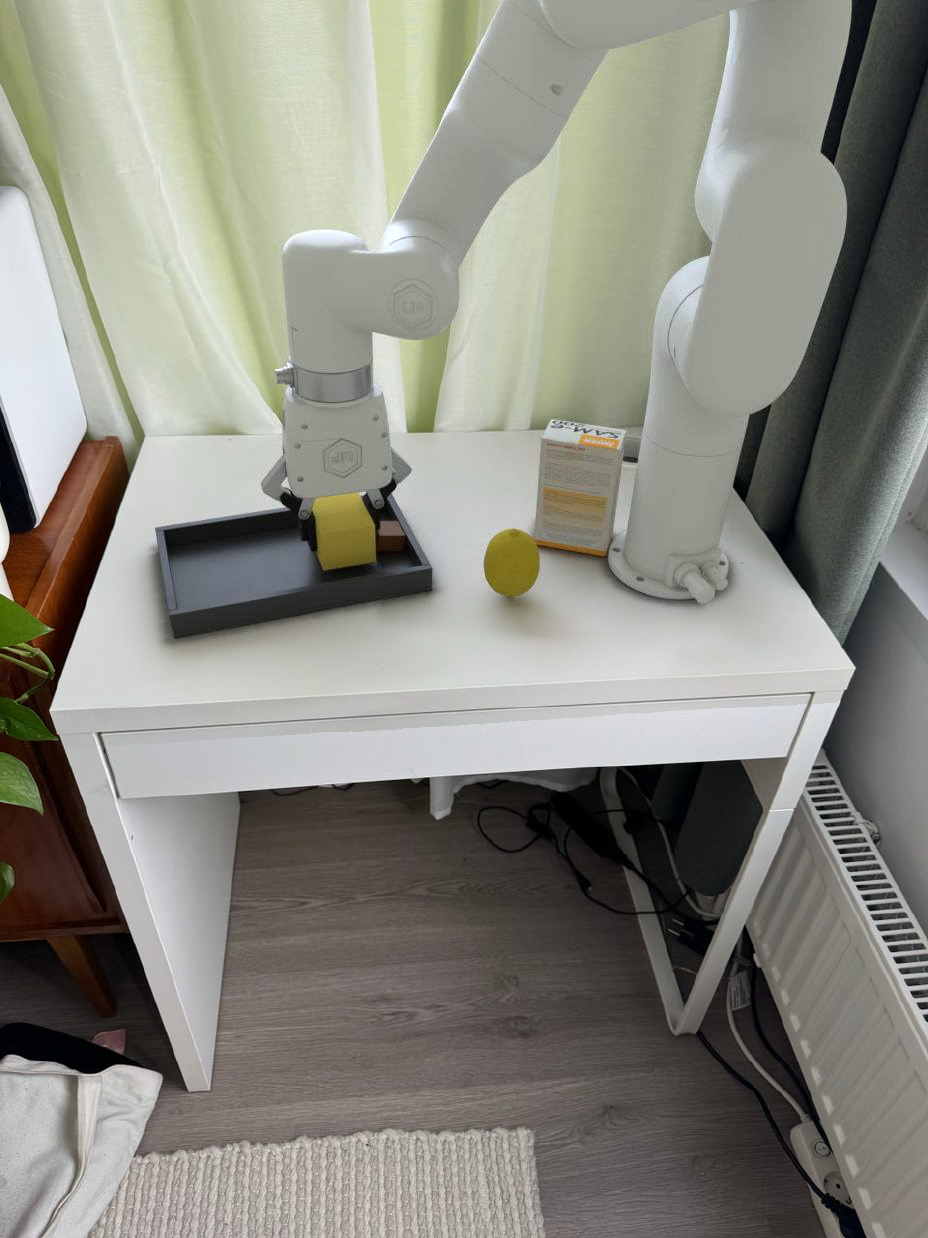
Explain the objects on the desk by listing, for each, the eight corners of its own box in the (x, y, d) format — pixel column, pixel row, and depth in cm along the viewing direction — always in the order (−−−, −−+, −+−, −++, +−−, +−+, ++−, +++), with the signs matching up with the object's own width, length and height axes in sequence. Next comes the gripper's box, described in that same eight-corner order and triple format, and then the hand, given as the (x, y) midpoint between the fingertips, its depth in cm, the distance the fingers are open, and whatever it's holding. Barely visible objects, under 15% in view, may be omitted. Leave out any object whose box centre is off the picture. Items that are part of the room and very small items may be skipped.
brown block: (403, 551, 99) (406, 535, 98) (376, 551, 98) (378, 535, 96) (395, 536, 101) (398, 520, 100) (368, 536, 100) (371, 520, 99)
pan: (432, 590, 94) (432, 568, 93) (174, 638, 88) (168, 615, 86) (391, 511, 106) (390, 490, 104) (159, 549, 99) (154, 527, 97)
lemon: (521, 619, 91) (527, 552, 86) (472, 601, 93) (475, 535, 88) (545, 590, 95) (552, 524, 90) (498, 573, 97) (501, 508, 92)
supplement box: (613, 535, 103) (629, 428, 95) (606, 559, 100) (622, 449, 91) (541, 522, 105) (551, 416, 97) (531, 544, 101) (540, 436, 93)
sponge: (376, 562, 95) (375, 525, 92) (323, 570, 93) (320, 533, 91) (356, 521, 101) (355, 485, 98) (306, 528, 99) (303, 492, 96)
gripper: (244, 403, 80) (264, 573, 92) (433, 383, 85) (430, 546, 96) (232, 368, 86) (252, 533, 97) (410, 351, 90) (409, 509, 102)
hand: (340, 538), depth 97 cm, fingers closed on sponge, 5 cm apart
